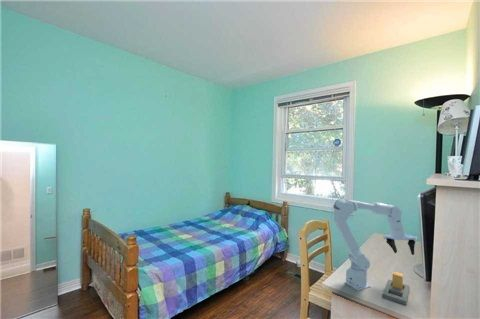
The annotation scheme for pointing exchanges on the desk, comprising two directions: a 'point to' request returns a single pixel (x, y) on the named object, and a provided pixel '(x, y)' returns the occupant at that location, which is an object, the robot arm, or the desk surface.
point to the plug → (397, 280)
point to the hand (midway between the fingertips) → (404, 253)
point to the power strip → (396, 292)
